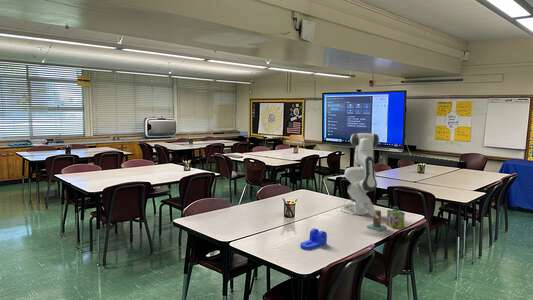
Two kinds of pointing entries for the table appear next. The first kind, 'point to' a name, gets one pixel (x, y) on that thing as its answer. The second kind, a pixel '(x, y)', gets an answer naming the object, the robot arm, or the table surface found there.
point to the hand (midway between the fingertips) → (377, 216)
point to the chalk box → (395, 218)
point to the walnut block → (377, 221)
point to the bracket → (315, 240)
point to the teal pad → (376, 227)
